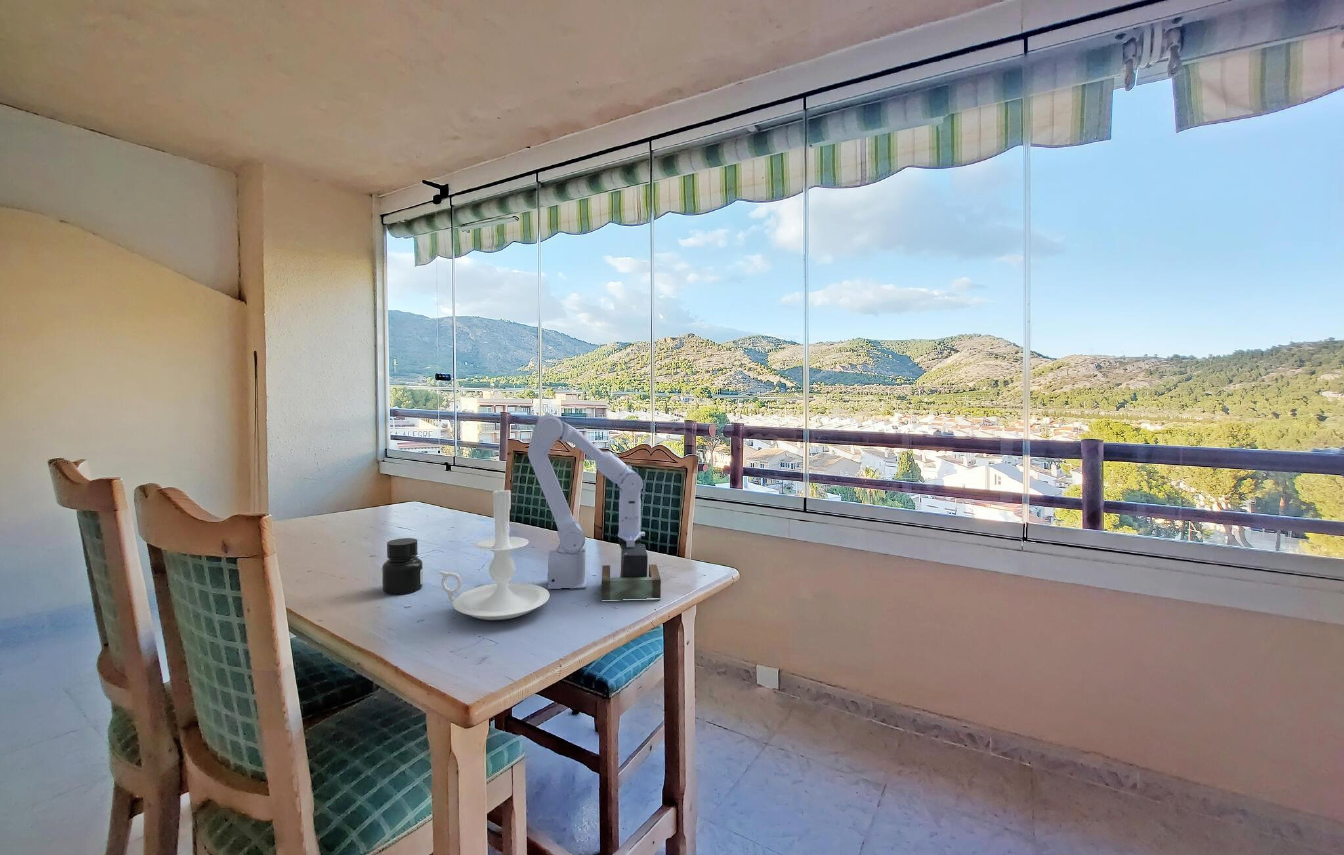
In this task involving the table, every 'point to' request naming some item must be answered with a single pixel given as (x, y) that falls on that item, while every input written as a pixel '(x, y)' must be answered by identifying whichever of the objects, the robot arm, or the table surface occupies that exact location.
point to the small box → (634, 561)
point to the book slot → (631, 585)
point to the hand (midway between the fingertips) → (629, 567)
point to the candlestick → (498, 575)
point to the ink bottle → (402, 567)
